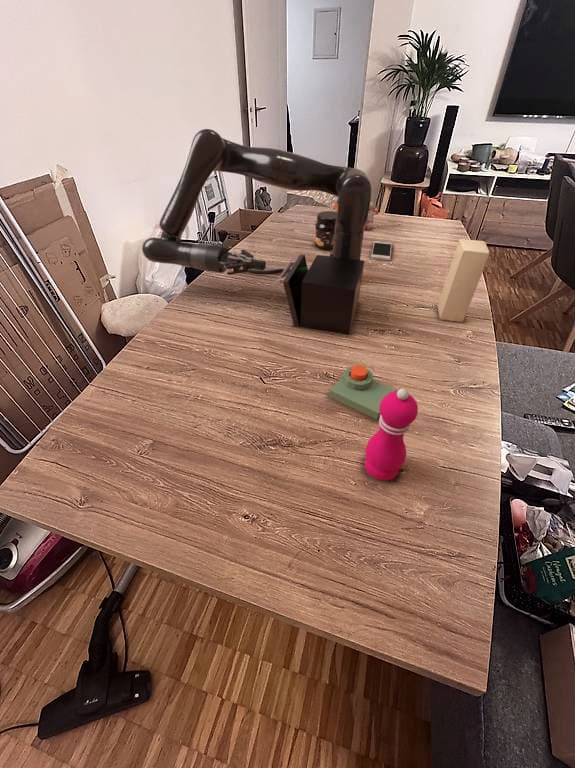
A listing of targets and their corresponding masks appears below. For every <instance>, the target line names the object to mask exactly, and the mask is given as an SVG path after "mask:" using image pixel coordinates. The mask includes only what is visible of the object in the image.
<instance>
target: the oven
mask: <svg viewBox="0 0 575 768" xmlns="http://www.w3.org/2000/svg"><path fill="white" fill-rule="evenodd" d="M364 267H365V260H362V259H360V260H355V259H347V258H339V257H331V256H330V255H323V254H316V256H315V258H314V259H313V261H312V263H311V265H310V266H309V267H308V272H307V274H306V276H305V277H304V279H303V281H302V292H301V319H300V325H299V327H300V328H303V329H310V330H316V331H322V332H328V333H334V334H340V335H345V336H350V333H351V330H352V326H353V322H354V320H355V315H356V312H357V308H358V306H359V299H360V293H361V287H362V280H363V274H364Z"/></svg>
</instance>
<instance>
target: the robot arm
mask: <svg viewBox="0 0 575 768" xmlns="http://www.w3.org/2000/svg"><path fill="white" fill-rule="evenodd" d="M213 172H221V173H222V172H224V173H230V174H237V175H242V176H245V177H247V178H250V179H252V180H255V181H258V182H260V183H263V184H266V185H268V186H269V185H270V186H273V187H276V188H280V189H285V190H288V191H295V192H296V191H297V192H298V191H302V192H304V191H306V192H308V191H318V192H323V193H326V194H329V195H332V196H335V197H338V198H339V200H338V211H337V218H336V221H335V232H334V243H333V250H331V251H330V252H329V256H331V257H339V258H347V259H355V260H361V257H362V251H363V250H362V249H363V243H364V236H365V230H366V229H365V226H366V225H367V224H366V222H367V218H368V213H369V207H370V202H372V201H371V200H372V193H373V192H372V191H373V190H372V183H371V181H370V179H369V177H368V176H367V174H366V173H365V172H364V171H362V170H361V169H359V168H354V167H347V166H338V165H333V164H327V163H324V162H320V161H318V160H315V159H313V158H309V157H307V156H304V155H301V154H297V153H294V152H291V151H287V150H282V149H280V148H279V149H277V148H272V147H271V148H270V147H259V146H258V147H257V146H255V147H254V146H247V145H243V144H239V143H236V142H234V141H231V140H228V139H226V138H223V137H222V136H221V135H220V134H219V133H218V132H217V131H215V130H214V129H211V128H203V129H200V130H199V131H197V133H196V134H195V135H194V136H193V139H192V141H191V145H190V149H189V152H188V156H187V159H186V162H185V165H184V168H183V171H182V174H181V176H180V179H179V180H178V182H177V185H176V187H175V189H174V191H173V193H172V195H171V197H170V198H169V201H168V203H167V205H166V208H165V209H164V212H163V214H162V216H161V218H160V220H159V228H160V229H161V235H160V237H154V236H153V237H149V238H147V239H145V240H144V242H143V243H142V246H141V251H142V255H143V256H144V258H145V259H147V260H148V261H149V262H152V263H157V264H164V265H165V264H168V265H169V264H170V265H177V266H180V267H185V268H190V269H197V270H200V271H206V272H212V273H219V274H223V273H225V272H226V274H227V275H228V276H231V275H238V274H244V273H252V274H262V275H263V274H264V275H265V274H274V273H282V272H283V271H284V269H285V268H277V269H271V270H265V269H266V267H267V262H266V261H265V260H260V259H254V257H255V256H254V255H253V254H252V253H250V252H249V251H247V250H246V249H241V250H240V252H239V253H238V252H236V251H231V252H230V251H229V250H228V249H227V248H226V246H223V245H217V244H210V243H196V242H195V243H194V242H189V241H182V236H183V233H184V232H185V230H186V229H187V226H188V224H189V222H190V221H191V218H192V215H193V213H194V211H195V208H196V205H197V203H198V199H199V197H200V195H201V192H202V190H203V187H204V185H205V184H206V182H207V181H208V179H209V178H210V176H211V175H212V173H213ZM365 224H366V225H365ZM290 270H291V268H290V269H289V271H290ZM289 271H288V272H287V273H289Z"/></svg>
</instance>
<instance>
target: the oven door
mask: <svg viewBox="0 0 575 768" xmlns="http://www.w3.org/2000/svg"><path fill="white" fill-rule="evenodd" d="M283 269H284V271H282V272H281V274H279V276H278V278H277V279H276V282H275V283H276V285H282V284H283V285H282V286H283V289H284V291H285V296H286V300H287V304H288V308H289V313H290V316H291V320H292V324H293V327H300V319H301V292H302V281H303V279H304V277H305V276H306V274H307V272H308V270H309V267H308V263H307V259H306V254H299V256H298V257H297V258H296V259H290V260H289V261H288V263H287V264H286V266H285V267H284V268H283ZM289 269H291V270H290V271H289ZM288 271H289V272H288Z"/></svg>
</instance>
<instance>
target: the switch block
mask: <svg viewBox="0 0 575 768" xmlns="http://www.w3.org/2000/svg"><path fill="white" fill-rule="evenodd" d="M353 366H354V365H352V366H349V367H347V368H346V369H345V370H344V371H343V376H342V377H340V379H339V380H338V381H337V382H336V383H335V384H334V385H333V386H332V387H331V388H330V389H329V395H328V396H329V397H328V398H330V399H332V400H334V401H336V402H339V403H340V404H342V405H345V406H347V407H349V408H351V409H353V410H355V411H357V412H359V413H361V414H364V415H365V416H368V417H369V418H371V419H374V420H376V421H377V420H379V419H380V415H381V414H380V410H379V407H380V403H381V401H382V399H383V398H384V396H385V395H387V394H388V393H390V392H394V391H397V389H395V388H393V387H391V386H388V385H386V384H384V383H381V382H379V381H376V380H375V379H374V375H373V372H372V371H371V370H370V369H369V368H367V367H365V368H366V369H367V376H366V379H365V380H363V381H356V380H353V379H352V378H351V376H350V374H351V369H352V367H353Z"/></svg>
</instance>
